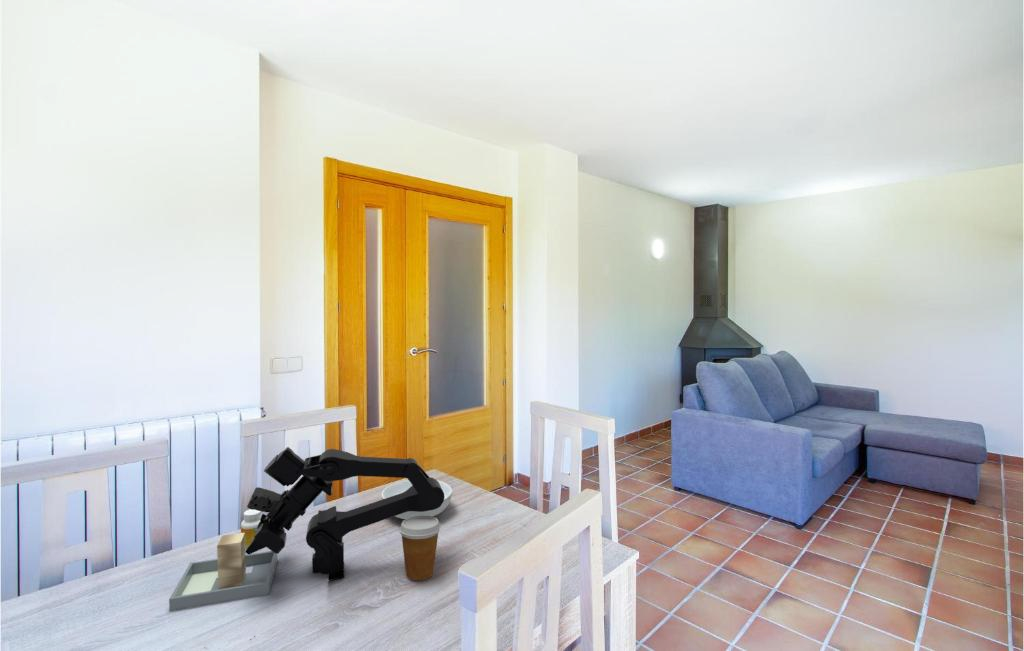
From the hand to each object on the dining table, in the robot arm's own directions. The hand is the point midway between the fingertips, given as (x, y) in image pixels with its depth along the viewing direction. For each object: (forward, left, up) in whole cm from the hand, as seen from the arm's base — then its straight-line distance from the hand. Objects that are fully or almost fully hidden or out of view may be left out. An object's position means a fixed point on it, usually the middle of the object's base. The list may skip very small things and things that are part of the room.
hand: (247, 552), depth 108 cm
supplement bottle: (+2, -18, -8) cm, 20 cm away
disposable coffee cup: (-37, +7, -8) cm, 39 cm away
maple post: (+3, 0, -6) cm, 7 cm away
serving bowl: (-41, -26, -8) cm, 49 cm away
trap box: (+4, 0, -8) cm, 9 cm away
